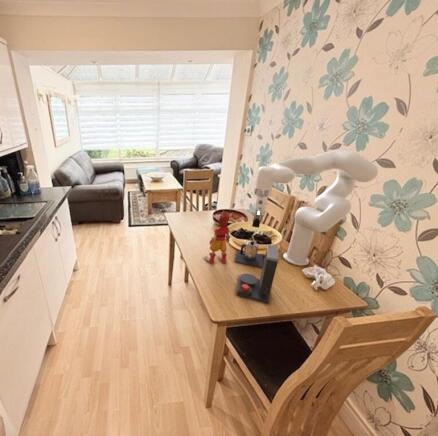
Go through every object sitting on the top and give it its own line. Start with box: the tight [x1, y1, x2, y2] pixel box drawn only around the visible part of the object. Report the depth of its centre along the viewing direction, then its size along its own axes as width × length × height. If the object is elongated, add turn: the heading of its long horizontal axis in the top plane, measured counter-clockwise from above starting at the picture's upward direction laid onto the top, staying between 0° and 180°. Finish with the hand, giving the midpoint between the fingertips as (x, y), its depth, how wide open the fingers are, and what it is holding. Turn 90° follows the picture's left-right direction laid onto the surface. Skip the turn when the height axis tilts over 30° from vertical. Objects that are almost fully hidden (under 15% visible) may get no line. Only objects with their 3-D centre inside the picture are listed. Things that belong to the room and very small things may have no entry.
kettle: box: [240, 240, 259, 261], centre depth 133 cm, size 9×8×11 cm
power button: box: [242, 284, 249, 291], centre depth 109 cm, size 3×3×2 cm
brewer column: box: [239, 244, 280, 296], centre depth 108 cm, size 13×13×19 cm
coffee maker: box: [236, 277, 269, 305], centre depth 112 cm, size 15×13×3 cm
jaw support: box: [301, 264, 336, 291], centre depth 114 cm, size 12×9×10 cm
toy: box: [204, 209, 231, 264], centre depth 129 cm, size 12×9×30 cm
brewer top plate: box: [234, 249, 264, 269], centre depth 136 cm, size 14×14×1 cm
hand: (256, 223), depth 125 cm, fingers open, 9 cm apart
